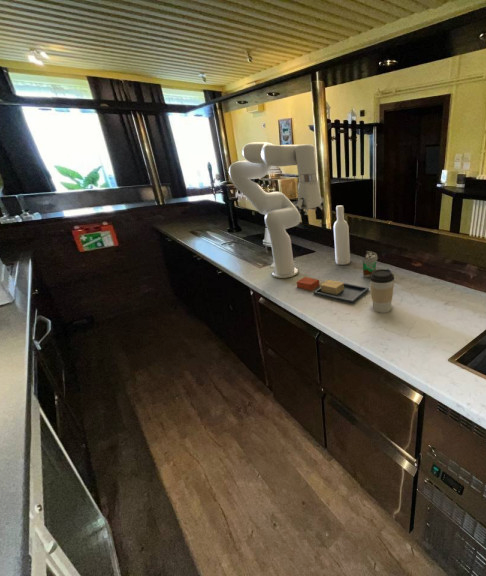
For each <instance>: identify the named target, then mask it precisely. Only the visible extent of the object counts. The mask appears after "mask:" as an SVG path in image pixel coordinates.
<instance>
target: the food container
mask: <svg viewBox="0 0 486 576" xmlns="http://www.w3.org/2000/svg"><path fill="white" fill-rule="evenodd" d="M378 259H379V257H378V254H377V253H376V252H374V251H370V250H366V253H365V255H364V258H362V273H363V278H370V275H371V274H372V273H373V271H375V270H377V261H378Z"/></svg>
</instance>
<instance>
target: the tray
mask: <svg viewBox="0 0 486 576" xmlns="http://www.w3.org/2000/svg"><path fill="white" fill-rule="evenodd" d="M331 280H332V279H331ZM332 281H334V280H332ZM343 283H344V290H343V291H341V292H340V293H338V294H337V295H335V294H330V293H326V292H322V291H321V286H320V287H319V288H317V289H316V290H314V291H313V295H314V296H319V297H321V298H326V299H331V300H334V301H339V302H342V303H347V304H351V305H353V304H354V303H355V302H357V301H358V300H359V299H360V298H361V297H363V296H364V295H366V293H367V292H370V291H369V290H370V289H369V287H367V286H363V285H362V286H361V285H356V284H351V283H347V282H343Z"/></svg>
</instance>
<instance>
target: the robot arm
mask: <svg viewBox="0 0 486 576" xmlns="http://www.w3.org/2000/svg"><path fill="white" fill-rule="evenodd" d="M242 155H243V157H244V159H245V160H238V161H235V162H233V163H231V164H230V165H229V168H228V173H229V177H230V180H231V183H232V184H233V186H234V187H235V188H236V189H237V190H238V191H239V192H240V193H241V194H242V195H243V196H245V198H247V200H248V202H249V203H251V205H252V206H253V207H254V208H255V209H256V211H258V213H259V214H260V215H265V216H264V224H265V228H266V229H267V232H268V237H269V241H270V247H271V254H272V259H273V262H272V263H271V264H270V266H269V267H270V269H273V271H272V277H274V278H276V279H288V278H292V277H294V276H296V275H298V273H299V270H298V268H296V267H295V263H294V262H295V261H294V255H293V247H292V239H291V237H290V235H289V234H288V232H287V230H288V229H290V228H294V227H298V226H299V224H300V223H301V225H304V226H305V225H306V226H308V225H310V220H309V219H310V218H309V214H308V211H309V210H311V209H315V210H314V212H315V220H319V221H321V220H323V219H324V217H323V209H324V208H323V207H324V200H325V199H324V197H323V196H322V195H321V194H322V193H321V189H320V184H319V177H318V168H317V166H318V165H317V158H316V148H315V146H314V145H313V144H311V143H303V144H273V143H271V142H266V141H261V142H259V141H258V142H252V141H251V142H249V143H246V144H245V145H244V146H243V148H242ZM291 166H296V169H297V177H298V183H297V203H296V204H295V205H294V203H292V201H291V200H290V199H289V198H288V197H287V195H286V194H284V193H283V192H281V191H271V192H267V191H265V190H264V189H263V188H262V186H260V184H258V183H257V182H255V181H253V180H257V179H263V178H265V176H267V174H268V173H269V171H270V169H271V167H291Z"/></svg>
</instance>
